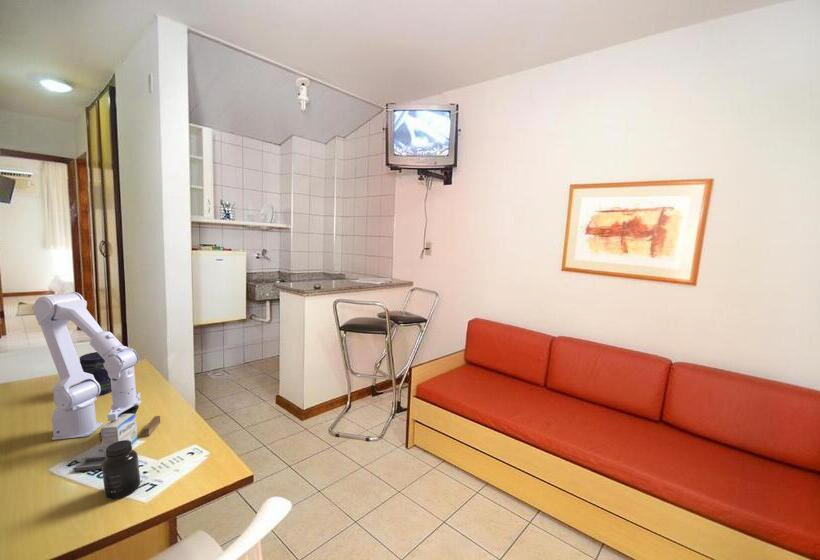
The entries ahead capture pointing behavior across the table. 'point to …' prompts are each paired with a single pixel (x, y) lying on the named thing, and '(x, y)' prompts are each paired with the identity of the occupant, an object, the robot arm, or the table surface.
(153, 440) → the table surface
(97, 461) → the dark grey flat tray
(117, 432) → the medicine box
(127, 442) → the supplement bottle
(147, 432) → the lane wall right
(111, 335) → the robot arm
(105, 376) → the storage jar
